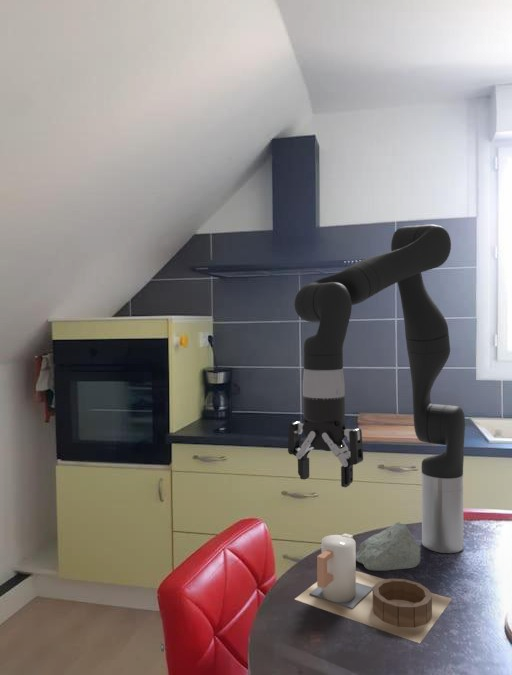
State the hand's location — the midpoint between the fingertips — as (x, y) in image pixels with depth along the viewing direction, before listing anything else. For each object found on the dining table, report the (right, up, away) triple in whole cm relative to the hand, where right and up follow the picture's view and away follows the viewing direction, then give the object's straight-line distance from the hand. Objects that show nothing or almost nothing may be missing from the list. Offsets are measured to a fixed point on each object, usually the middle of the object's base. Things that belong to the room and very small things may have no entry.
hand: (324, 482), depth 98 cm
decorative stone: (+16, -24, +18) cm, 34 cm away
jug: (+3, -22, +3) cm, 23 cm away
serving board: (+9, -24, +3) cm, 26 cm away
